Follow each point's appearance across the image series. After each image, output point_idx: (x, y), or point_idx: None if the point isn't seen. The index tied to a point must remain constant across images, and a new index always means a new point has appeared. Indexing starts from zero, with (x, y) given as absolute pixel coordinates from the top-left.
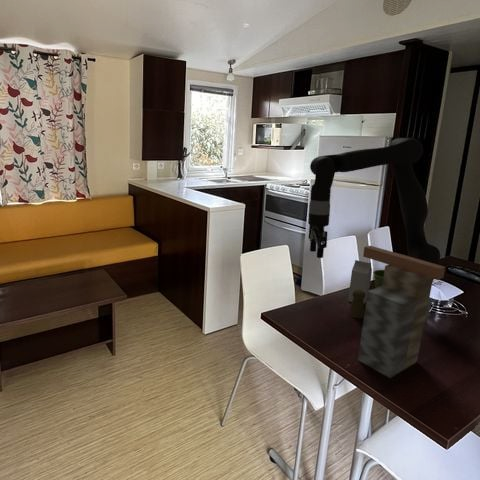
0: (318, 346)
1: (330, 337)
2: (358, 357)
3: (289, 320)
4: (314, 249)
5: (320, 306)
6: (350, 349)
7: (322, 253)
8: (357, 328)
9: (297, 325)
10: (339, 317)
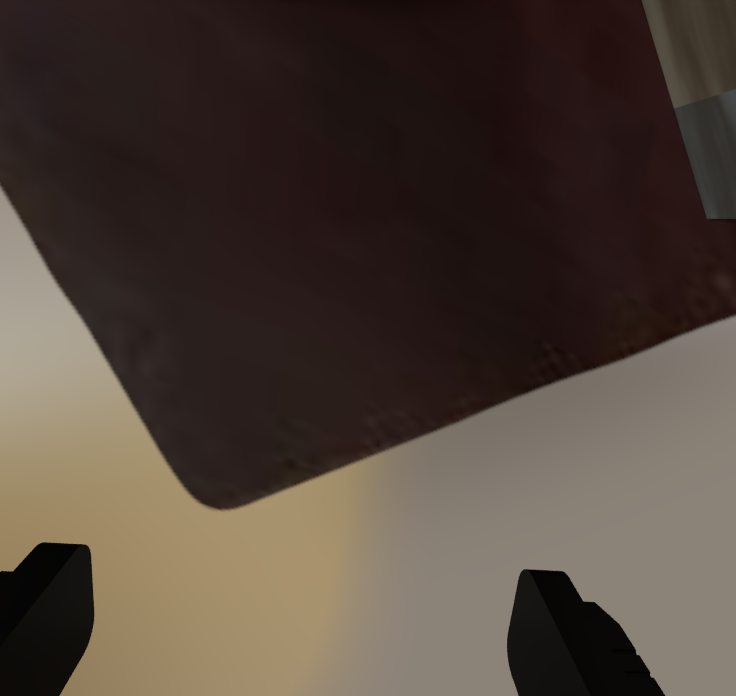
0: (557, 354)
1: (491, 259)
2: (718, 218)
3: (286, 408)
4: (67, 595)
5: (103, 149)
6: (617, 207)
7: (640, 674)
8: (423, 42)
9: (345, 384)
10: (271, 89)
